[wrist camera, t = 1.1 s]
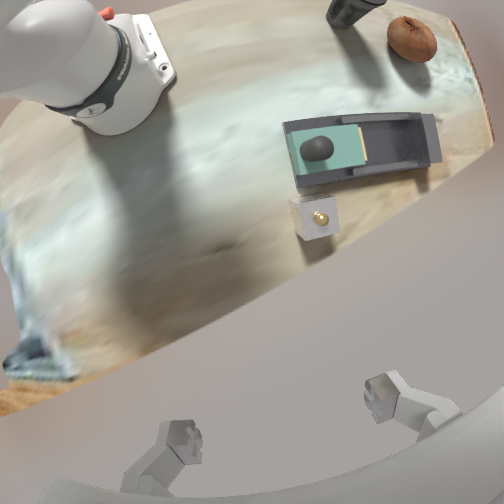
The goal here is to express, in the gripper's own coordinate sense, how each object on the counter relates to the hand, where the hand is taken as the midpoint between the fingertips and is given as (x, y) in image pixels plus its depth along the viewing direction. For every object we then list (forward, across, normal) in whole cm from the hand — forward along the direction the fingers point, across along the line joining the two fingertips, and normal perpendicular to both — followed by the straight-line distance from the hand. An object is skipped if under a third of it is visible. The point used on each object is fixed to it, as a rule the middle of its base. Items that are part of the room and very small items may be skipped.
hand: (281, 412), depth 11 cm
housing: (+32, -10, -3) cm, 34 cm away
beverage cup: (+32, -24, -36) cm, 53 cm away
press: (+32, -22, -12) cm, 41 cm away
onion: (+32, -36, -31) cm, 57 cm away
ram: (+31, -14, -12) cm, 36 cm away
